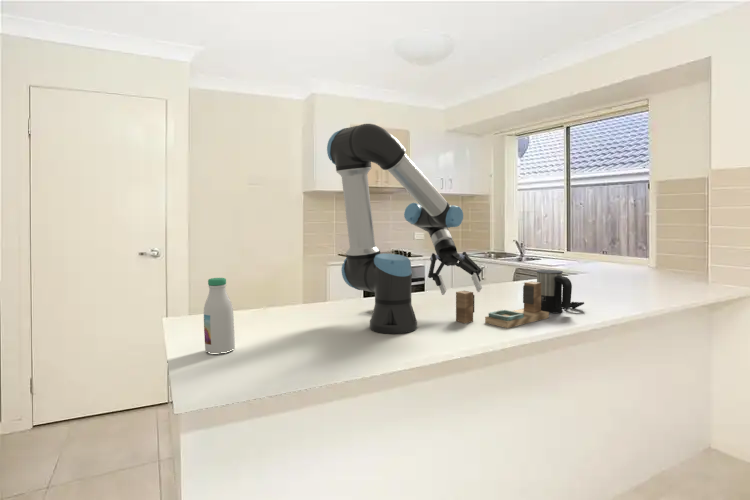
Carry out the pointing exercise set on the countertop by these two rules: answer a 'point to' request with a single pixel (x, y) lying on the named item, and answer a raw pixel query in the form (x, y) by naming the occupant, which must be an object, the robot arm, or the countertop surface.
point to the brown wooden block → (464, 306)
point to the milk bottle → (218, 318)
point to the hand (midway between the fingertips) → (462, 291)
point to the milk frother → (555, 291)
